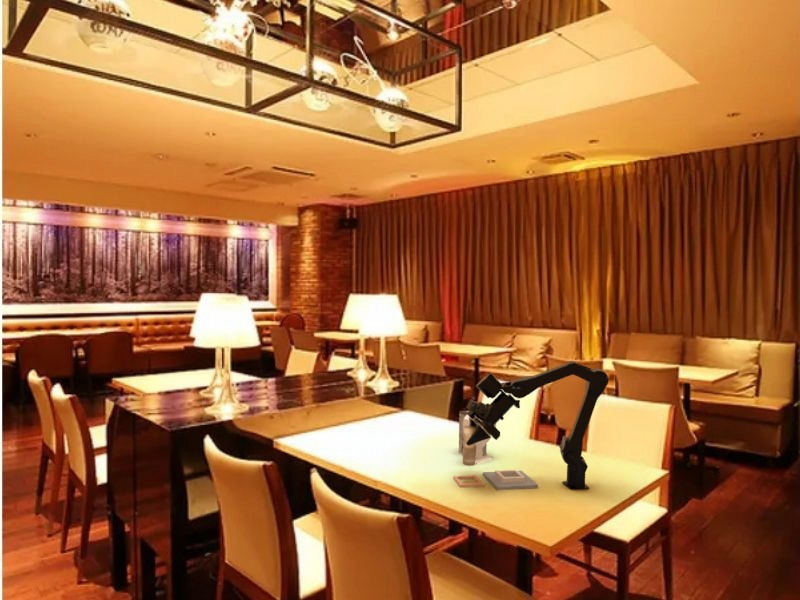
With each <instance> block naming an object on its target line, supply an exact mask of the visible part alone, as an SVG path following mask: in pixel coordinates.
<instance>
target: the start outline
mask: <svg viewBox="0 0 800 600" xmlns="http://www.w3.org/2000/svg"><path fill="white" fill-rule="evenodd" d="M452 479H453V480H454V481H455V483H456V484H457V485H458V487H459V488H466V487H467V488H469V487H473V488H474V487H485V483H484V482H483V481H482V480H481V478H479V476H478V475H477V474H475V475H474V474H472V475H471V474H470V475H468V474H467V475H453V476H452ZM471 479H472V480H473V479H474V480H475V481H476V482H465V483H463V482H462V481H461V480H471Z"/></svg>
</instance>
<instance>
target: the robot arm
mask: <svg viewBox="0 0 800 600" xmlns="http://www.w3.org/2000/svg"><path fill="white" fill-rule="evenodd" d="M570 376H575V377H577V378H579V379H582V380H584V381H585V384H584V385H585V386H584V387H585V388H584V394H583V397H582V400H581V403H580V406H579V409H578V411H577V415H576V417H575V420H574V422H573V425H572V429H571V432H570V433H569V435H568V436H565V435H563V436H562V440H561V442H560V445H559V446H558V447H559V450H560V455H561V458H562V460H563V461H564V463H565V464H566V480H563V481H562V484H563V485H564V486H566V487H567V488H568V489H570V490H572V491H573V490H574V491H575V490H589V489H590V487H589V486H588V484H586V472H587V470H588V463H587V462H586V460H585V458H584V457H583V456H582V454H583V444H584V437H585V435H586V432H587V429H588V426H589V423H590V421H591V418H592V415H593V413H594V409H595V407H596V405H597V403H598V401H597V400H598V399H599V398H600V397H601V395H602V394H603V393H604V391H605V389H606V388H607V386H608V384H609V381H610V378H609V376H608V374H607V373H606V372H605V371H604V370H602V369H601V368H598V367H593V368H592V367H588V366H587V365H586V366H585V365H583V364H580V363H577V362H576V361H574V360H570V361H568V362H566V363H563V364H560V365H558V366H556V367H552V368H551V369H547V370H545V371H542V372H540V373H537V374H534V375H528V376H522V377H521V376H520V377H515V378H514V379H512V380H511V381H507V382H500V381H499V380H498V378H496V376H495V375H494V373H492V372H490V373H488V374H487V375H485V377H483V378H481V380H479V382H478V383H476V385H475V386H476V388H477V389H478V390H479V391H480V392H481V393H482V394H483V395H484V396H485V397H486V398H487V399H489V398H490V399H493V401H491V402H490V403H483V402H481V401H478V402H477V401H475V400H473V399H471V398H470V399H469V401H468V402H467V405H466V409H468V411H469V412H468V413H467V415H468V416H469V417H470V418H469V422H470V425H469V426H472V427H475V428H476V430H475V432H474V433H473V434H472V436H471V437H470V438H469V440H468V441H467V443H466V444H467V445H468V446H469V445H472V444H474V443H477V442H479V441H482V440H485V439H488V438H490V439H491V438H493V439H494V440H495V441H497V440H498V439H499V438H500V437H501V431H500V430H499V429H498V428H497V426H496V427H495V426H494V425H495V424H496V425H497V423H498V422H499V421H500V420H501V421H503V420H504V419H505V417H504V415H506V414H507V413H508V412H509V411H510V410H511V408H513V406H514V407H515V408H516V409H521V403H520V402H521V400H520V399H524V398H525V397H526V396H528V395H530V394H532V393H533V392H535V391H536V390H538V389H539V388H541V387H544V386H546V385H549V384H551V383H554V382H557V381H559V380H562V379H564V378H567V377H570ZM490 435H492V437H490ZM462 440H463V439H462Z"/></svg>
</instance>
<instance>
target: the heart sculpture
mask: <svg viewBox="0 0 800 600" xmlns="http://www.w3.org/2000/svg"><path fill="white" fill-rule="evenodd" d="M469 418H470V417H469V416H468V415H466V416H465V418H464V420H463V429H464V427H465V426H469V425H470V422H469ZM494 426H495V427H496V428H497V423H496V424H495V425H494ZM490 437H491V438H493V437H492V435H490ZM491 438H488V439H485V440H482V441H479V442H477V443H475V445H476V455H475V464H476V463H479V464H482V463H484V462H483V461H485V462H488V461H487V460H489V459H492V460H494V459H493V458H494V457H493V458H491V457H492V456H490V455H484V456H483V447H484V446H485V445H486V446H487V443H488V442H489V441H490V440H491ZM489 456H490V457H489ZM489 461H490V460H489ZM481 462H482V463H481ZM476 465H477V464H476Z"/></svg>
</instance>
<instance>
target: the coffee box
mask: <svg viewBox="0 0 800 600" xmlns="http://www.w3.org/2000/svg"><path fill="white" fill-rule="evenodd" d="M469 411H470V410H459V411H458V412H459V413H458V414H459V417H458V421H459V422H458V452H459V453H460V454H461V453H462V454H463V440H462V439H463V420H464V418H465V416H466V415H467V413H468V412H469ZM462 454H461V455H462ZM483 455H484V456H487V444H486V445H485V446H484V447H483ZM483 455H482V456H483ZM475 456H476V445H475Z"/></svg>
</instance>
